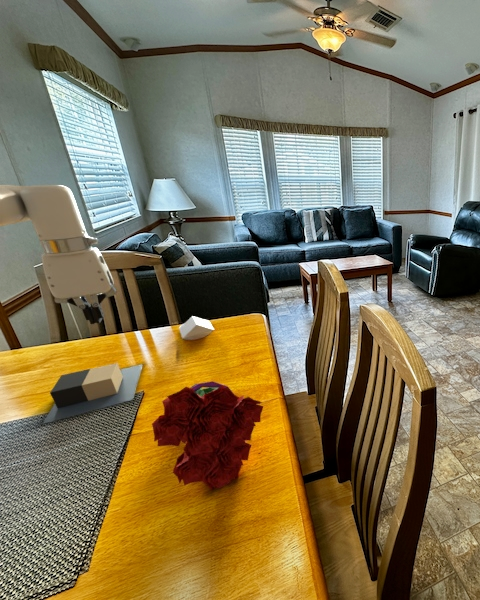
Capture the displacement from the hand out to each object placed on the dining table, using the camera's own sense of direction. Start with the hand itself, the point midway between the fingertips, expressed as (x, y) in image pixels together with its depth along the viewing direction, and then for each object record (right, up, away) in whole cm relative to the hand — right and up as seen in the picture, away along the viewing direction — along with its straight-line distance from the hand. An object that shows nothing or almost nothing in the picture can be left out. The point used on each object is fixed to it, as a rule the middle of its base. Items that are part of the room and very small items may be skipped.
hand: (96, 321), depth 78 cm
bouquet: (+32, -24, -9) cm, 41 cm away
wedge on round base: (+3, -7, +34) cm, 35 cm away
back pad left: (-7, -18, +3) cm, 20 cm away
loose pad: (-3, -17, +5) cm, 18 cm away
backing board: (-4, -19, +5) cm, 20 cm away
